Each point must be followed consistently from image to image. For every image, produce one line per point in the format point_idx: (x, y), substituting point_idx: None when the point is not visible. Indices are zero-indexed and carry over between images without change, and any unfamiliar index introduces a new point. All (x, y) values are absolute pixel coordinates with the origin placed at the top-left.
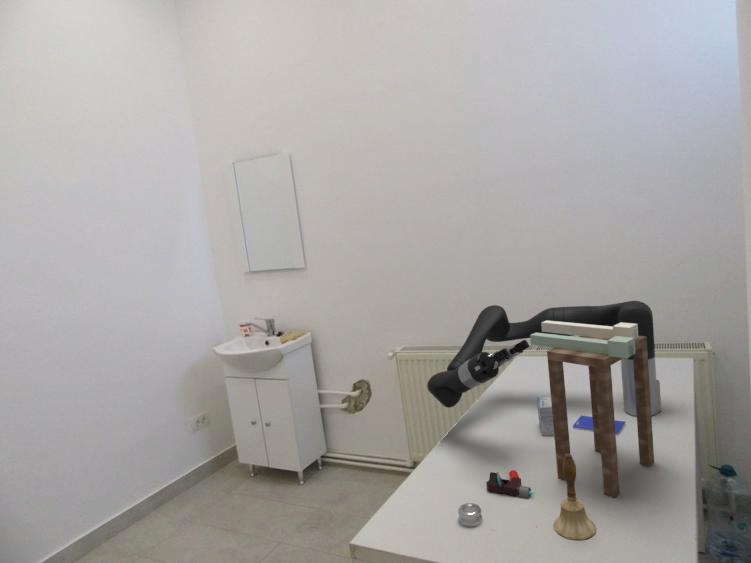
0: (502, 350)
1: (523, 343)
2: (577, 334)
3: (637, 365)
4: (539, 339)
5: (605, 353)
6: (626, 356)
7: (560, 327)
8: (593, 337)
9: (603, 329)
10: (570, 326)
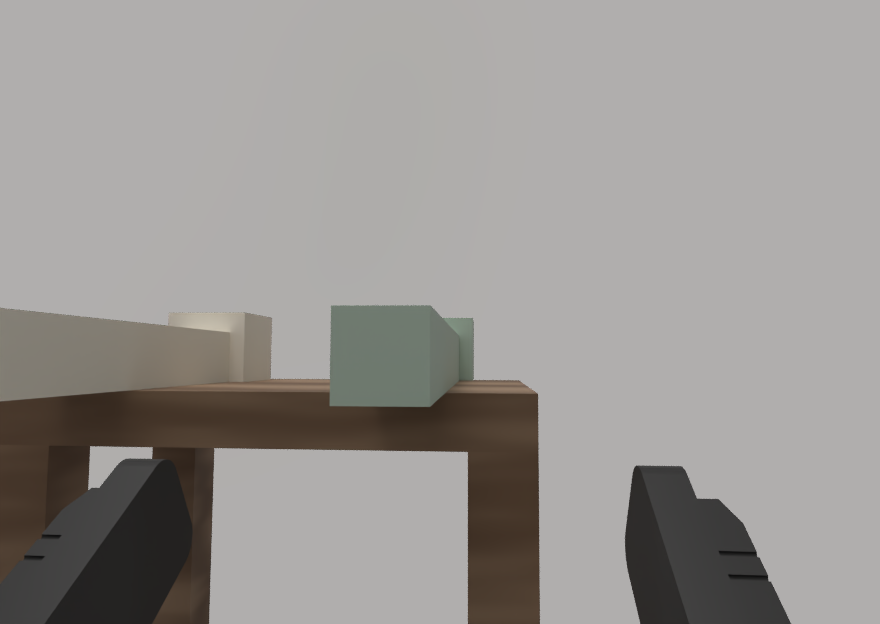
0: (688, 498)
1: (157, 511)
2: (115, 383)
3: (201, 500)
4: (437, 343)
5: (458, 376)
6: (473, 371)
7: (20, 339)
8: (178, 386)
9: (206, 334)
10: (86, 326)
